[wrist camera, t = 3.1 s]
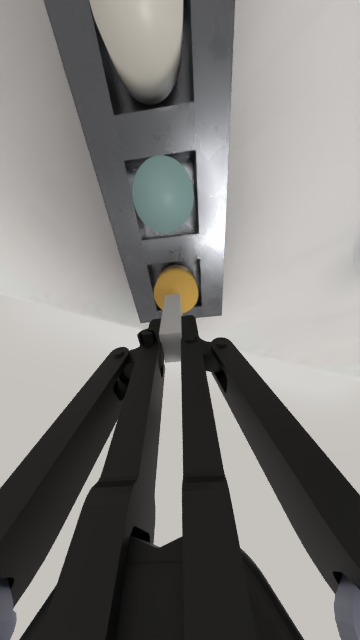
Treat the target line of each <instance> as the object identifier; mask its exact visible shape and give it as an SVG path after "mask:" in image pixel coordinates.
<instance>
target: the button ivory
mask: <svg viewBox="0 0 360 640" xmlns="http://www.w3.org/2000/svg"><path fill="white" fill-rule="evenodd" d="M89 1H90V5H91V9H92V13H93V16H94V19H95V22H96V24H97V27H98V29H99V32H100V34H101V36H102V39H103V41H104V43H105V46H106V48H107V50H108V53H109V55H110V57H111V60H112V62H113V64H114V67H115V69H116V71H117V74H118V76H119V78H120V80H121V82H122V84H123V85H124V87H125V89H126V90H127V91H128V92H129V94H130V95H131V96H132V97H133V98H135V99H136V100H137V101H139V102H141V103H144V104H148V105H152V104H157V103H159V102H161V101H163V100H164V99H165V98H166V97H167V96H168V95H169V94H170V92H171V91H172V89H173V87H174V86H175V83H176V81H177V78H178V75H179V71H180V67H181V60H182V38H183V0H89Z"/></svg>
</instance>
